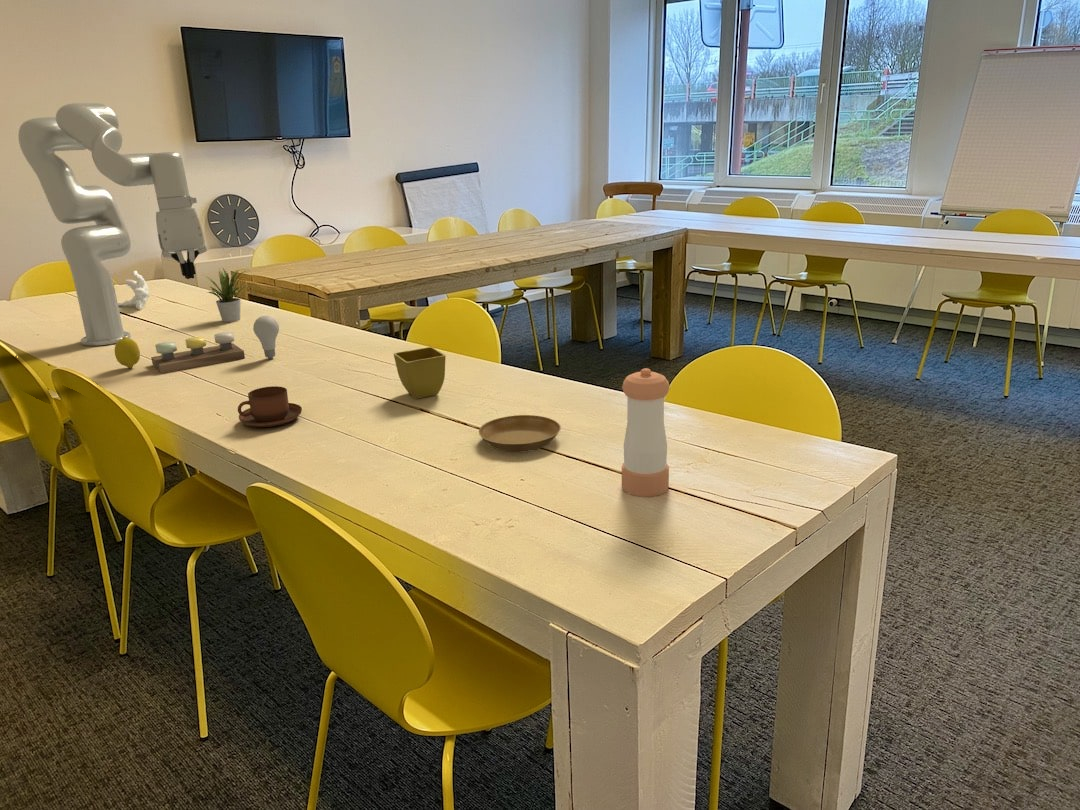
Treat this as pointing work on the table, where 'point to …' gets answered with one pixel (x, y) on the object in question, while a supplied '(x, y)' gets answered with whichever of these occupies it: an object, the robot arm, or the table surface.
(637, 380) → the pepper shaker
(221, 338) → the grey button
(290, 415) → the cup and saucer
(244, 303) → the table surface
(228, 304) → the house plant
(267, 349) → the lightbulb
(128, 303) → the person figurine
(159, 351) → the sage button
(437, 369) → the flower pot
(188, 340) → the yellow button
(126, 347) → the lemon
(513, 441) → the plant saucer
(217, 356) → the button board
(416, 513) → the table surface
